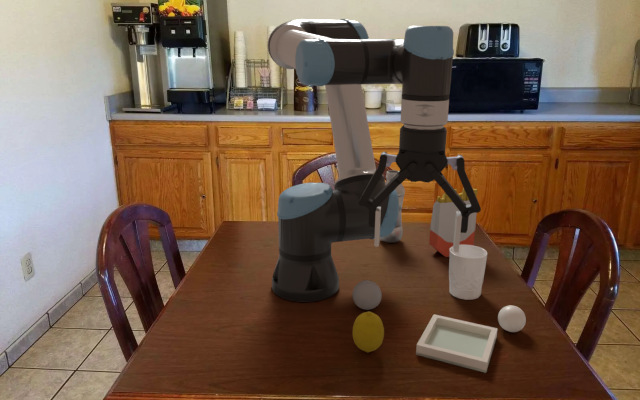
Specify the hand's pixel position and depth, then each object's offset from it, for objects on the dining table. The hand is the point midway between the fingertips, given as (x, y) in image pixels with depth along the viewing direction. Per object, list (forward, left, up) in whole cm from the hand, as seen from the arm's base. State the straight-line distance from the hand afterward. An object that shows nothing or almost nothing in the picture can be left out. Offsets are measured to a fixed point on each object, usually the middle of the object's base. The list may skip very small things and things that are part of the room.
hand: (415, 246), depth 89 cm
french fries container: (-3, +46, -19) cm, 50 cm away
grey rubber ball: (-12, +8, -19) cm, 23 cm away
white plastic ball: (+16, +12, -19) cm, 27 cm away
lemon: (-6, -7, -19) cm, 21 cm away
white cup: (+5, +24, -19) cm, 31 cm away
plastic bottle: (-20, +47, -19) cm, 54 cm away
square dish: (+8, +2, -19) cm, 20 cm away
